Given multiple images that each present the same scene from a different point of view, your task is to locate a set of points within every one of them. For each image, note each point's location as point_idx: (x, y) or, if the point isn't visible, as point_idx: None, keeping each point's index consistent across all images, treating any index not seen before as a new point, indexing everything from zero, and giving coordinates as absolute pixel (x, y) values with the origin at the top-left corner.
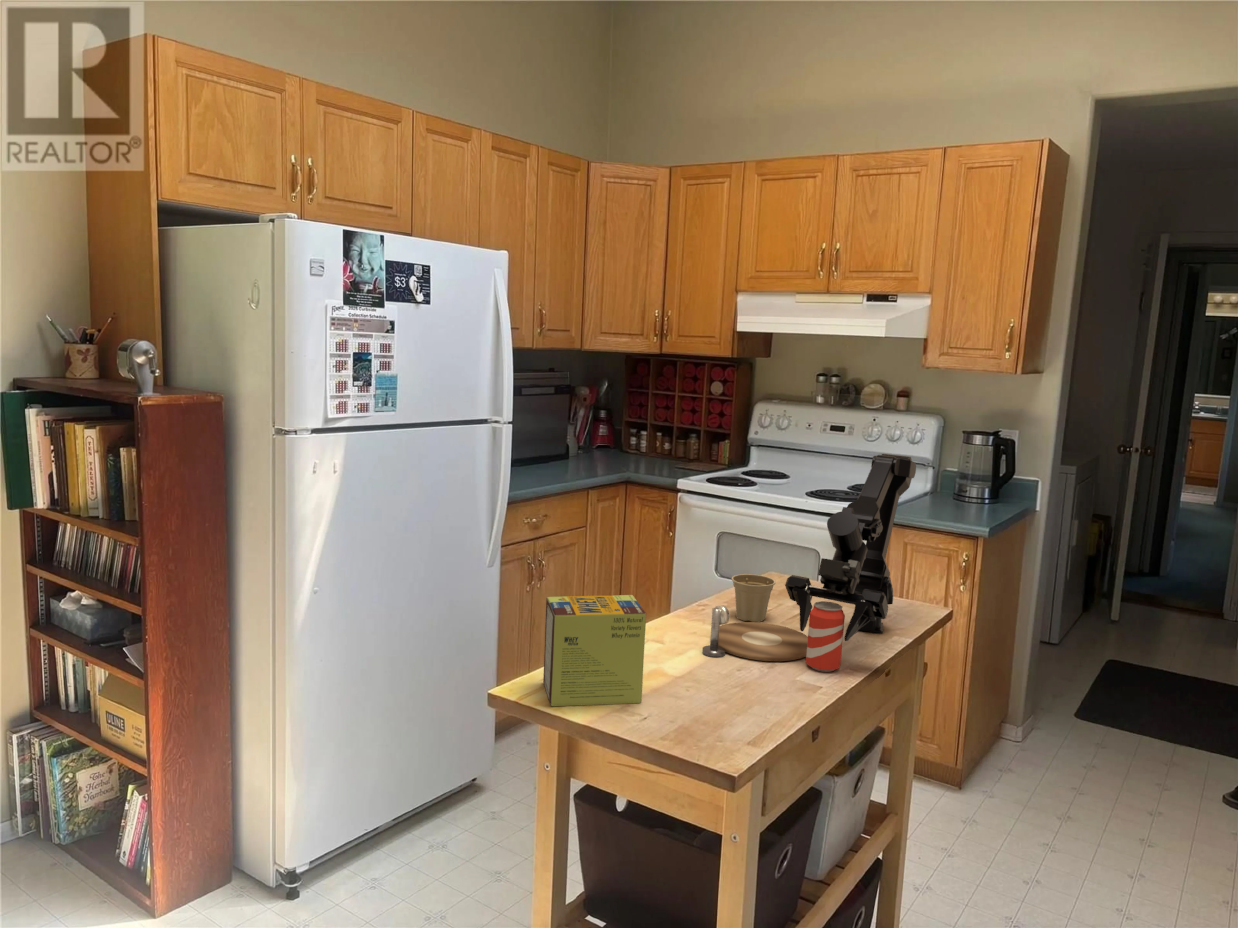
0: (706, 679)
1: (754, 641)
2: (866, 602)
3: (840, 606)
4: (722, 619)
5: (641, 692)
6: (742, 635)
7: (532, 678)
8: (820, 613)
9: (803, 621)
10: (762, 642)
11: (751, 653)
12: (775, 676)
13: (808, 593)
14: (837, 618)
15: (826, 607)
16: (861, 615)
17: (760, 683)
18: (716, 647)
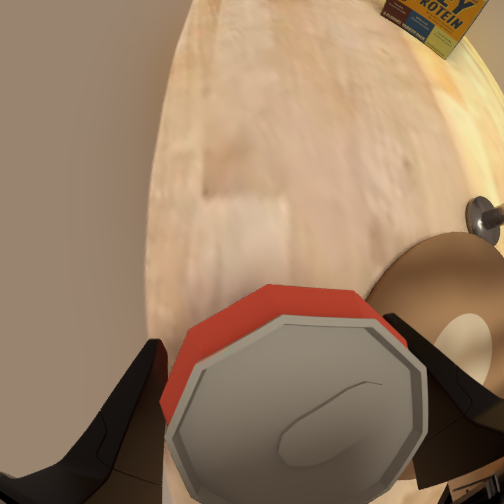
0: (403, 93)
1: (466, 330)
2: (5, 490)
3: (215, 501)
4: None
5: (384, 5)
6: (490, 341)
7: (469, 43)
8: (317, 305)
9: (403, 337)
10: (453, 341)
11: (438, 242)
12: (332, 179)
13: (484, 480)
14: (178, 355)
15: (311, 413)
16: (69, 453)
17: (331, 122)
18: (486, 214)
